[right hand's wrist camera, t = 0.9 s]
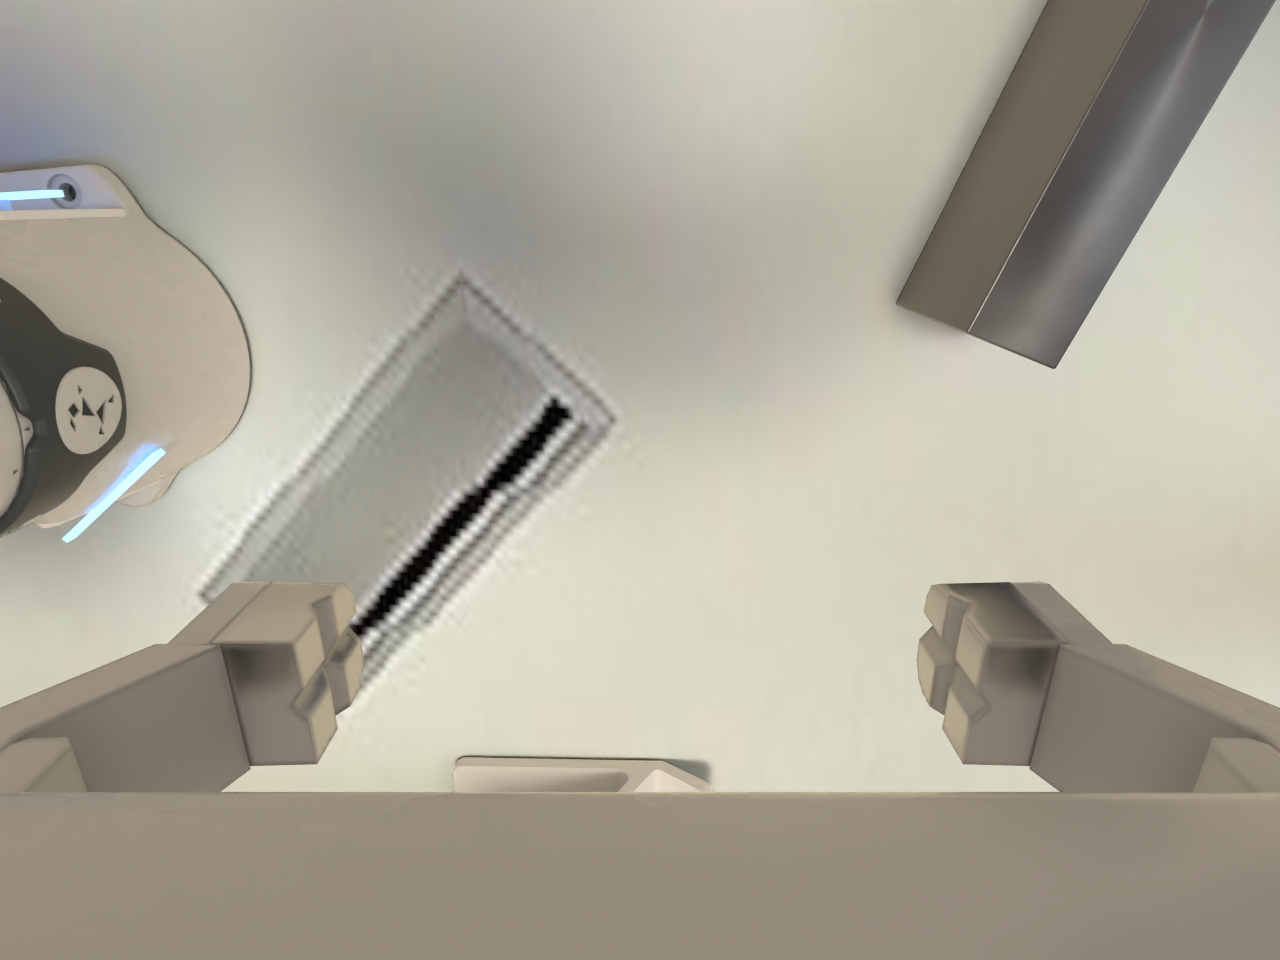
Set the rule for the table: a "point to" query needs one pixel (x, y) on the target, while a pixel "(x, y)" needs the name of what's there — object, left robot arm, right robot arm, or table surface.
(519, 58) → the table surface
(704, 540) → the table surface
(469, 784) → the tablet stand
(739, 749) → the table surface
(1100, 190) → the bar
